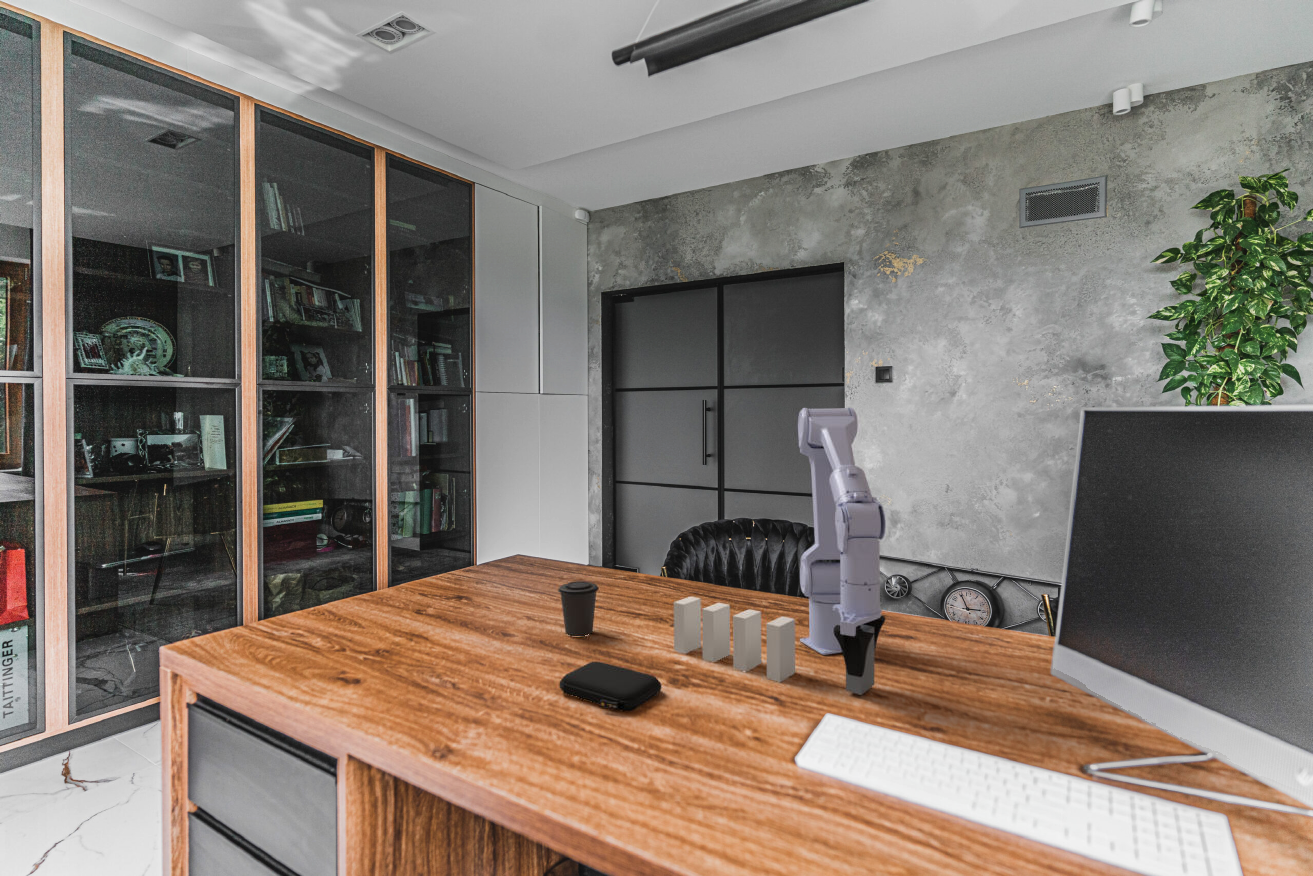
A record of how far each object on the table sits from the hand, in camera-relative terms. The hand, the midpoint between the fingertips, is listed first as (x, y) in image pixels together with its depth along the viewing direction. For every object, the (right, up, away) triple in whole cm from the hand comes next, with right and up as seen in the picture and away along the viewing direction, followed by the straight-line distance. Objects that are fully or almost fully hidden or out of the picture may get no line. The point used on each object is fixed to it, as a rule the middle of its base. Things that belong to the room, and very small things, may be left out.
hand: (860, 668), depth 96 cm
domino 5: (0, -3, 0) cm, 3 cm away
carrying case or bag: (-39, -5, 0) cm, 39 cm away
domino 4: (-11, -4, +6) cm, 13 cm away
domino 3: (-16, -4, +11) cm, 19 cm away
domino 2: (-21, -4, +15) cm, 26 cm away
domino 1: (-26, -4, +19) cm, 32 cm away
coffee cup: (-47, -4, +29) cm, 55 cm away
